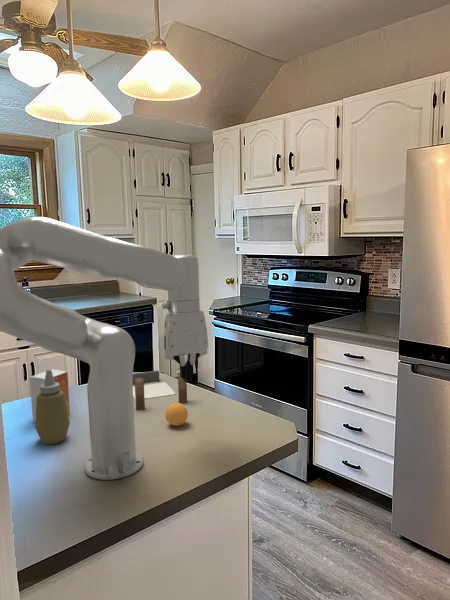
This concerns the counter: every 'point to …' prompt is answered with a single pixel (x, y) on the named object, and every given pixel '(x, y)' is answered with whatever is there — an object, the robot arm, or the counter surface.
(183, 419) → the ball
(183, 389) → the right post
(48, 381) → the squeeze bottle
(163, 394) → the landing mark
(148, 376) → the stopper wall
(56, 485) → the counter surface
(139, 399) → the left post
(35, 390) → the small box
